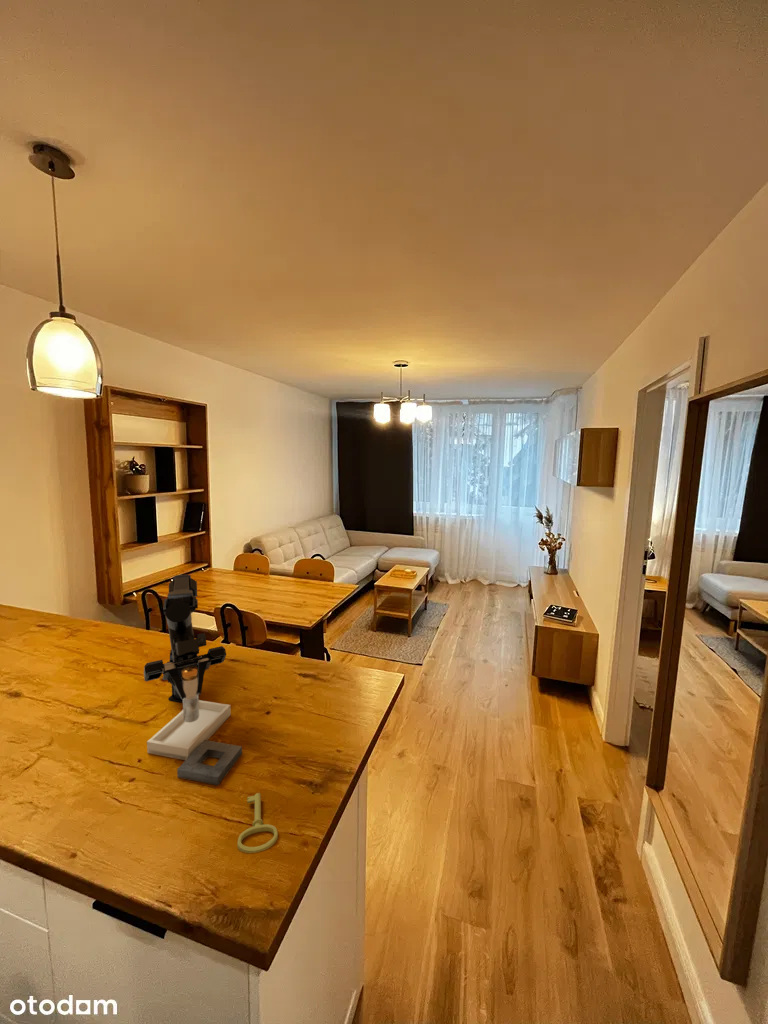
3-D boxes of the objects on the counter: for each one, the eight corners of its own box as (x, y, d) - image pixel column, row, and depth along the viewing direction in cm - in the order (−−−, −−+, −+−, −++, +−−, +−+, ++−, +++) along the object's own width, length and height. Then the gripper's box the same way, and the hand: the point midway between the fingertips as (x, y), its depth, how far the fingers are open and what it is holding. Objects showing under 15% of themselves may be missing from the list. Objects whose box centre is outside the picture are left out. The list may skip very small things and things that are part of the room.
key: (259, 798, 89) (259, 789, 89) (281, 843, 79) (281, 833, 79) (224, 814, 85) (224, 805, 85) (242, 864, 75) (242, 853, 75)
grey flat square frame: (177, 777, 94) (177, 769, 94) (205, 747, 104) (204, 739, 103) (218, 785, 92) (217, 777, 92) (242, 754, 102) (242, 746, 101)
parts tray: (147, 753, 101) (146, 741, 101) (195, 709, 119) (194, 699, 118) (188, 760, 99) (187, 749, 99) (230, 715, 116) (230, 705, 116)
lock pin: (180, 721, 105) (178, 672, 103) (189, 712, 108) (187, 665, 106) (193, 723, 104) (191, 674, 102) (202, 714, 107) (200, 666, 105)
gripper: (142, 632, 101) (149, 698, 93) (223, 617, 111) (236, 675, 104) (141, 650, 108) (147, 712, 101) (217, 634, 119) (228, 689, 111)
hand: (191, 696), depth 104 cm, fingers closed on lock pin, 4 cm apart
